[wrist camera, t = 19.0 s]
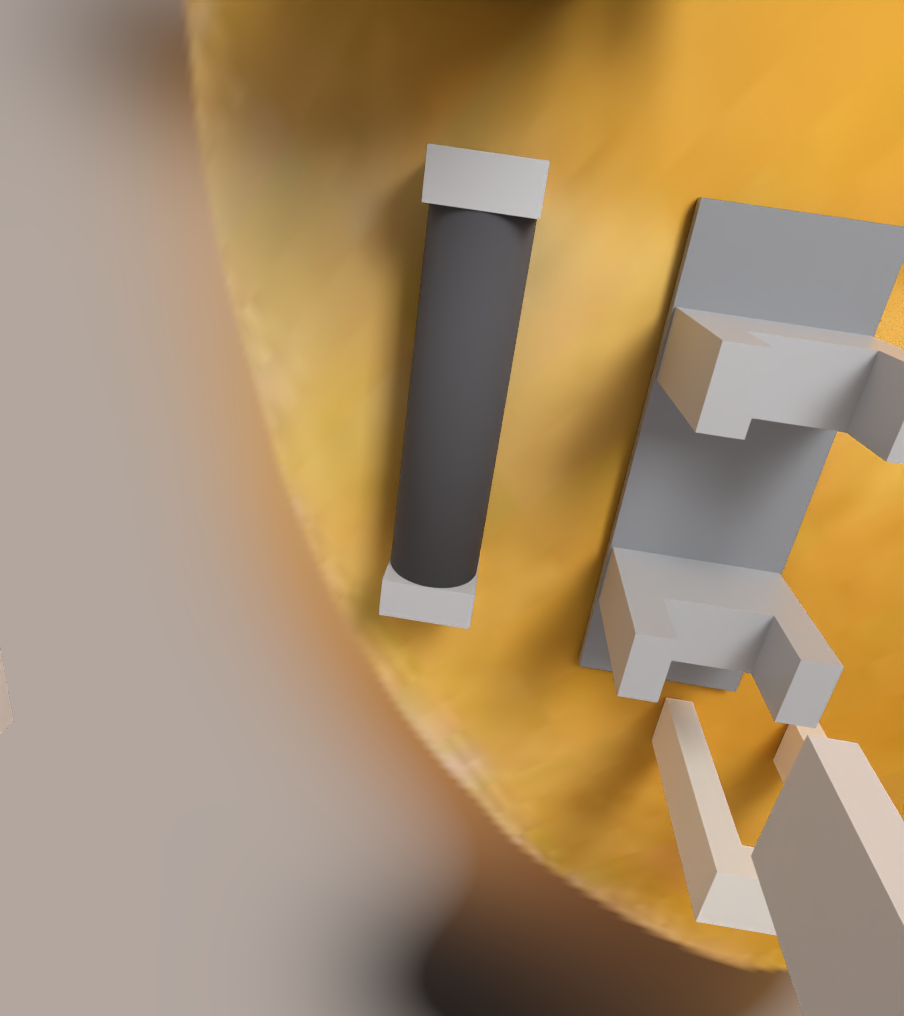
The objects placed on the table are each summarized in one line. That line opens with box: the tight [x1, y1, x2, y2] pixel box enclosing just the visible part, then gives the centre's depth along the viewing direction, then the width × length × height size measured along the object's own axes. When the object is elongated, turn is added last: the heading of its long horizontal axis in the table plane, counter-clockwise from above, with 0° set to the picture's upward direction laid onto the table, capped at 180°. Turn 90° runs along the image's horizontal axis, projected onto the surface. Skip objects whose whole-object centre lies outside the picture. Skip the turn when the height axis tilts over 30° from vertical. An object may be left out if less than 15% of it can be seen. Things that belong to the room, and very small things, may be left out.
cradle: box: [579, 198, 904, 728], centre depth 27 cm, size 22×8×8 cm, turn 172°
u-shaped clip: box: [652, 697, 827, 935], centre depth 32 cm, size 3×8×10 cm, turn 82°
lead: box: [379, 143, 550, 629], centre depth 29 cm, size 19×4×4 cm, turn 172°
